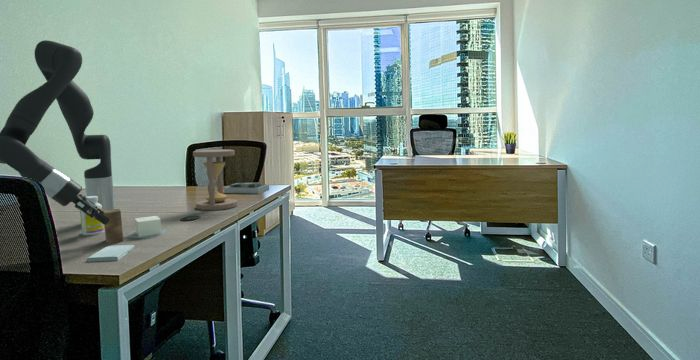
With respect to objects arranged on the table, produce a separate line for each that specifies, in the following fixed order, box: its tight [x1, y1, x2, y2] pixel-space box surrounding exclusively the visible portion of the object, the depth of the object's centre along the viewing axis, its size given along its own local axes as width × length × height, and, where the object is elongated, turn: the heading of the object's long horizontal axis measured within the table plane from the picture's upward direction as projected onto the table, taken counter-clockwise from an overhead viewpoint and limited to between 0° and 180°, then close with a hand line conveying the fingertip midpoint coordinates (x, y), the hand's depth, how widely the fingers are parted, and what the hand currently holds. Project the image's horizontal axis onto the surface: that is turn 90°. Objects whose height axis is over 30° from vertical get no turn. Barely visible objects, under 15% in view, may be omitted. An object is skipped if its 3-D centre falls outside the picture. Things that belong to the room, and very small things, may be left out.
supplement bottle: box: [79, 195, 105, 236], centre depth 153 cm, size 7×7×13 cm
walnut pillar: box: [103, 208, 124, 244], centre depth 142 cm, size 4×4×10 cm
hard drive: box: [86, 244, 135, 263], centre depth 128 cm, size 2×8×12 cm
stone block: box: [229, 181, 262, 188], centre depth 241 cm, size 9×14×5 cm, turn 77°
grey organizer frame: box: [223, 183, 270, 195], centre depth 244 cm, size 20×15×3 cm
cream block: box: [134, 215, 162, 237], centre depth 151 cm, size 7×7×5 cm
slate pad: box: [123, 228, 172, 239], centre depth 151 cm, size 11×12×1 cm
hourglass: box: [192, 148, 238, 211], centre depth 198 cm, size 18×18×25 cm
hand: (106, 220), depth 141 cm, fingers open, 8 cm apart
